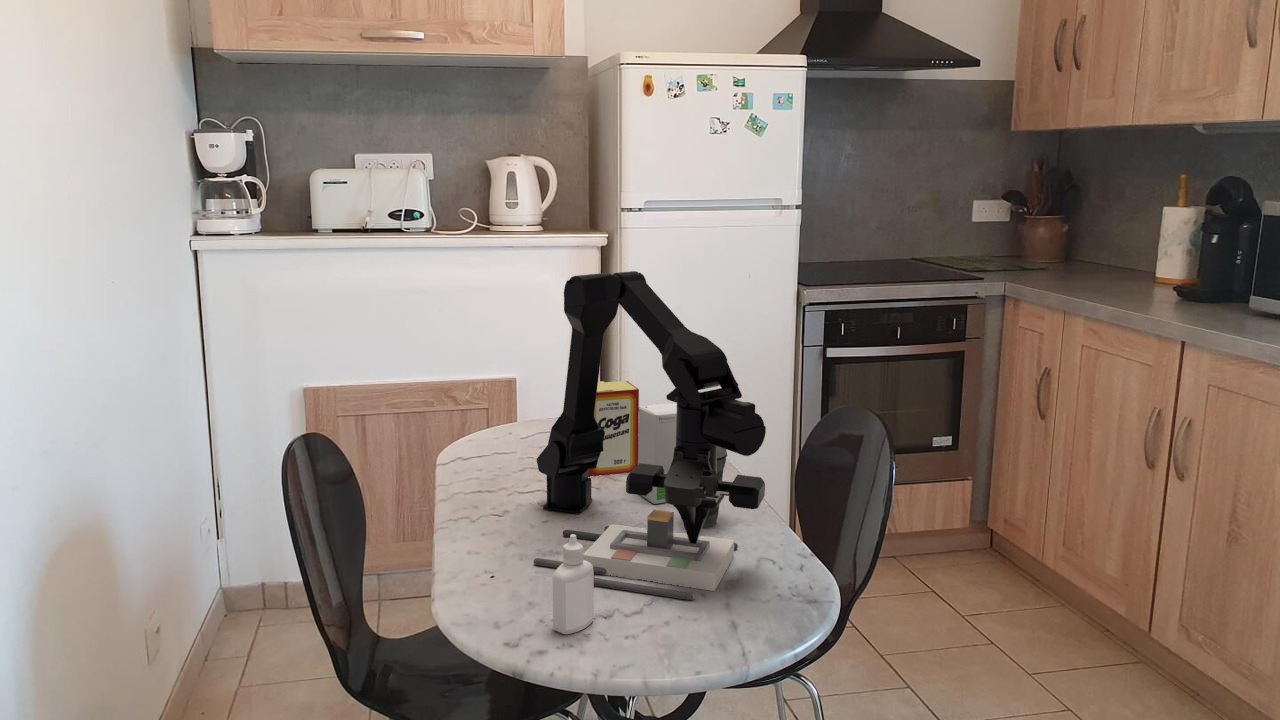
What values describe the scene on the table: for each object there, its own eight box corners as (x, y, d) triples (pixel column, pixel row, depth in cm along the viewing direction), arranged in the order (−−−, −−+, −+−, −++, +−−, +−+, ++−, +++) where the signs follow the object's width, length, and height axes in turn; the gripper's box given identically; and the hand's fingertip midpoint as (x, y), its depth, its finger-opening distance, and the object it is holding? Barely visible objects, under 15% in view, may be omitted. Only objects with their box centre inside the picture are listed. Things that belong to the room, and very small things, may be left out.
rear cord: (561, 536, 149) (561, 530, 149) (572, 526, 153) (572, 520, 153) (731, 560, 141) (731, 553, 141) (738, 548, 146) (738, 542, 145)
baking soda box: (626, 460, 185) (627, 378, 182) (638, 471, 179) (638, 387, 176) (578, 465, 182) (578, 382, 179) (588, 476, 176) (588, 390, 173)
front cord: (522, 575, 136) (522, 569, 135) (535, 562, 140) (535, 556, 140) (692, 601, 128) (693, 594, 128) (701, 587, 133) (701, 580, 132)
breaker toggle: (647, 549, 138) (647, 516, 137) (653, 541, 141) (653, 509, 140) (667, 552, 138) (667, 519, 137) (673, 544, 140) (673, 512, 139)
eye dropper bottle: (600, 629, 121) (600, 539, 118) (556, 637, 119) (555, 545, 116) (589, 614, 125) (589, 526, 122) (547, 621, 123) (546, 531, 120)
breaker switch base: (583, 571, 137) (582, 550, 137) (611, 539, 148) (611, 519, 148) (714, 591, 132) (715, 569, 131) (733, 556, 143) (734, 535, 142)
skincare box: (653, 505, 162) (654, 415, 159) (635, 493, 168) (635, 405, 165) (696, 497, 166) (698, 409, 163) (677, 485, 172) (679, 400, 169)
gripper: (613, 446, 130) (612, 556, 133) (752, 462, 124) (747, 576, 128) (638, 424, 140) (637, 526, 143) (767, 437, 135) (763, 543, 138)
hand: (693, 542), depth 138 cm, fingers closed
